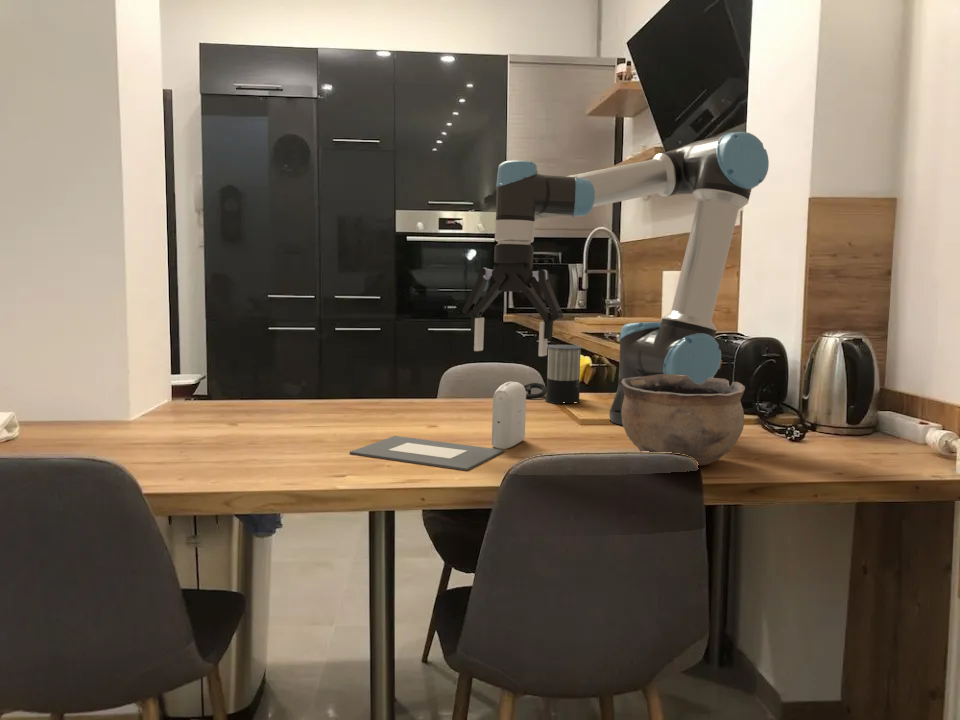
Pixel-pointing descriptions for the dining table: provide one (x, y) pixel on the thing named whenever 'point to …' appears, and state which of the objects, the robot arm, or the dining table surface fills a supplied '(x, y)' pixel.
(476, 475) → the dining table surface
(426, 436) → the dining table surface
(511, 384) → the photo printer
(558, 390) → the milk frother
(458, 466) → the mat
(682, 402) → the ceramic bowl
